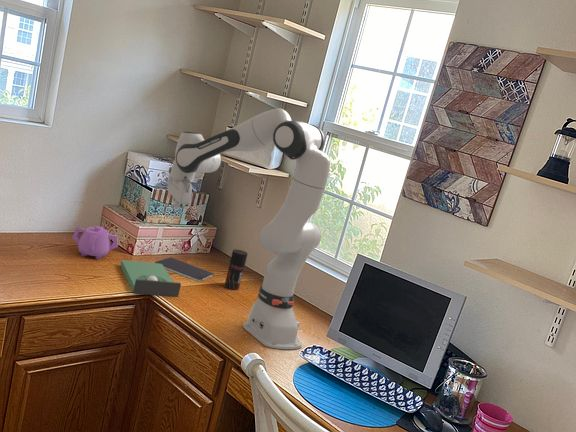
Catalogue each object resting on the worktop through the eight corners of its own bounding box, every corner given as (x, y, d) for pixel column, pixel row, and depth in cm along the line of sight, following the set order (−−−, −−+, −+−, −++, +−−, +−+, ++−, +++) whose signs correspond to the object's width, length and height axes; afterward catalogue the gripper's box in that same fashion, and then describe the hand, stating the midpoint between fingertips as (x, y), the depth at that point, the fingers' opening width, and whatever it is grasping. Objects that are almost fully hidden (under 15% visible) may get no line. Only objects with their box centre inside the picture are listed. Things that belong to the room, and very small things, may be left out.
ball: (157, 289, 216) (160, 279, 215) (146, 288, 214) (149, 278, 213) (155, 283, 220) (157, 274, 218) (144, 282, 218) (146, 273, 216)
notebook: (213, 277, 246) (169, 260, 253) (214, 273, 246) (170, 257, 253) (198, 283, 235) (153, 265, 241) (199, 279, 234) (153, 262, 241)
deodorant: (236, 291, 235) (245, 255, 232) (222, 287, 236) (231, 251, 233) (240, 287, 240) (249, 252, 238) (226, 283, 241) (235, 248, 238)
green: (178, 296, 214) (181, 283, 213) (133, 293, 206) (136, 280, 205) (160, 269, 237) (163, 257, 236) (120, 265, 230) (122, 253, 229)
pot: (75, 244, 242) (80, 216, 239) (118, 253, 244) (124, 226, 242) (64, 256, 224) (69, 227, 222) (110, 266, 227) (116, 237, 225)
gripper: (198, 182, 214) (190, 218, 217) (183, 169, 232) (176, 203, 234) (182, 179, 211) (173, 216, 214) (168, 166, 229) (160, 201, 231)
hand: (175, 209), depth 224 cm, fingers closed
